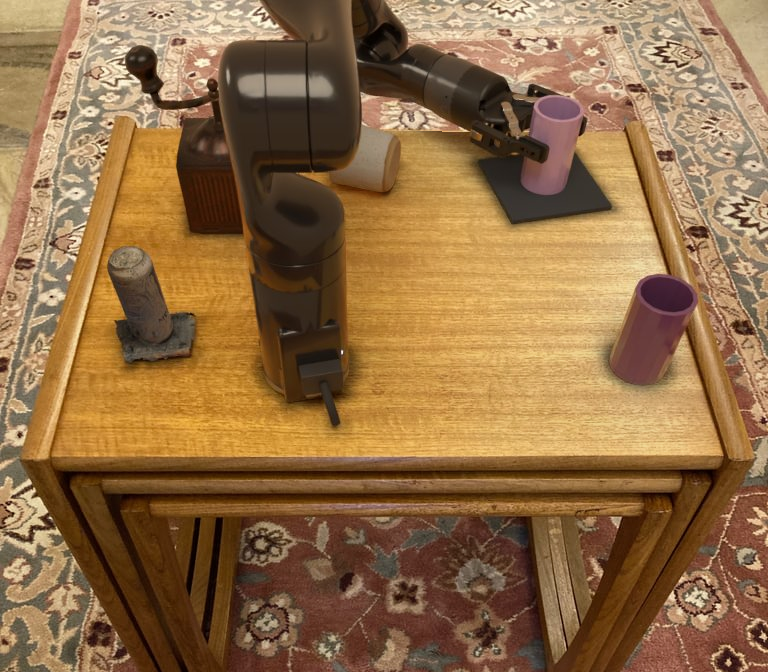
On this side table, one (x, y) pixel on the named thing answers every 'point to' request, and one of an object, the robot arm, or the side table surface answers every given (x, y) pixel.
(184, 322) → the grey post on base
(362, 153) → the ceramic mug
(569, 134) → the lilac cup
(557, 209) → the placemat
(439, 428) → the side table surface
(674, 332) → the plum cup
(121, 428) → the side table surface
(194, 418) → the side table surface
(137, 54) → the manual coffee grinder
